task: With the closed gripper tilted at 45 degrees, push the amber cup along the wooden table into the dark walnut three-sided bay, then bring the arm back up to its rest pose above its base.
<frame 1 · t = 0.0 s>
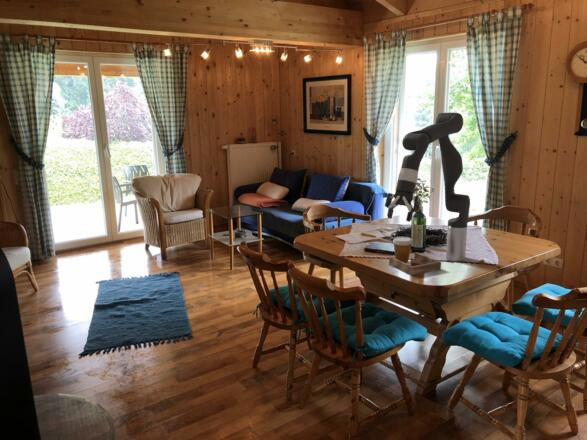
hand: (398, 219, 189), 31 cm above the table, tool tilted 20°, fingers open, 8 cm apart
walnut bay: (414, 267, 226), on the table
amber cup: (401, 262, 235), on the table
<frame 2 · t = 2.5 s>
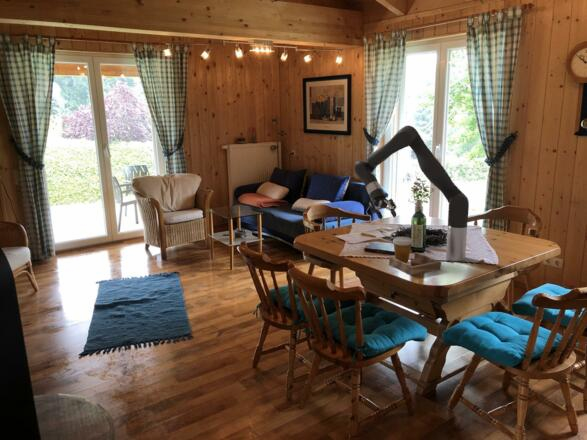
hand: (388, 217, 239), 21 cm above the table, tool tilted 45°, fingers open, 8 cm apart
nothing on the table moved.
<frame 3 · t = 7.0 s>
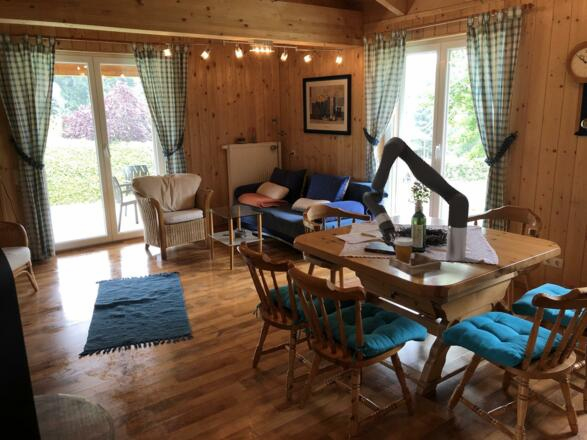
hand: (398, 252, 236), 4 cm above the table, tool tilted 45°, fingers closed
amber cup: (403, 262, 234), on the table, touching gripper
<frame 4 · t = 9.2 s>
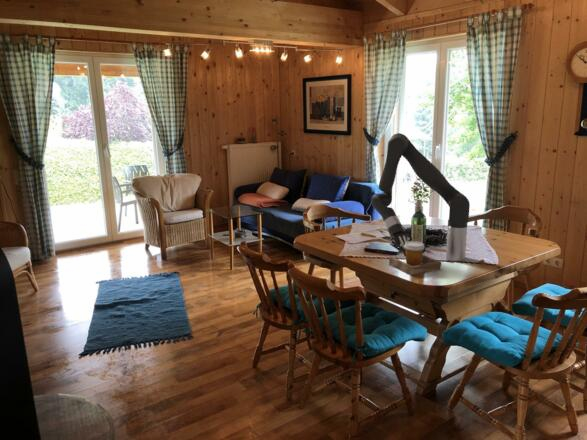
hand: (408, 256, 229), 4 cm above the table, tool tilted 45°, fingers closed
amber cup: (413, 267, 226), on the table, touching gripper
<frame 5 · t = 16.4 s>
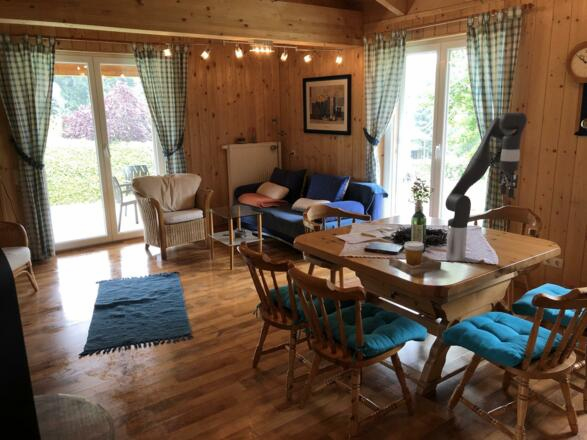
hand: (506, 195, 208), 36 cm above the table, tool pointing down, fingers open, 8 cm apart
amber cup: (413, 267, 226), on the table
at the end: amber cup inside the target area on the walnut bay (0.7 cm from its centre), point 0.0 cm above the walnut bay's base; amber cup tilted 0°; the gripper is holding nothing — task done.
